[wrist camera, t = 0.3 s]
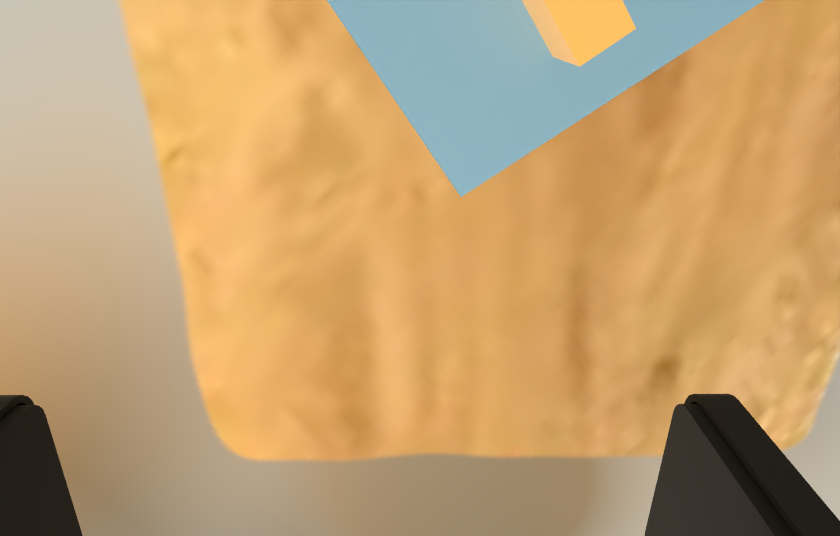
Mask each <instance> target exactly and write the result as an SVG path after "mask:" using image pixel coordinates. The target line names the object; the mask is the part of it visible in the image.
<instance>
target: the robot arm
mask: <svg viewBox="0 0 840 536" xmlns="http://www.w3.org/2000/svg"><path fill="white" fill-rule="evenodd" d="M0 536H82V533H81V529H80V526H79V523H78V519H77V516H76V513H75V510H74V506H73V503H72V500H71V497H70V493H69V490H68V487H67V484H66V480H65V477H64V474H63V471H62V467H61V464H60V461H59V458H58V455H57V451H56V448H55V444H54V441H53V438H52V435H51V432H50V428H49V425H48V422H47V418H46V415H45V413H44V411H43V409H42V408H41V407H40V406H37V405H34V403H33V401H32V400H31V399H30V398H29V397H27V396H24V395H0ZM645 536H840V521H839V520H838V519H837V517H836V516H835V515H834V514H833V512H832V511H831V510H830V509H829V508H828V507H827V506H826V504H825V503H824V502H823V501H822V499H821V498H820V497H819V496H818V495H817V494H816V492H815V491H814V490H813V489H812V487H811V486H810V485H809V484H808V483H807V481H806V480H805V479H804V478H803V477H802V475H801V474H800V473H799V472H798V471H797V469H796V468H795V467H794V466H793V465H792V464H791V462H790V461H789V460H788V459H787V458H786V456H785V455H784V454H783V453H782V452H781V450H780V449H779V448H778V447H777V446H776V444H775V443H774V442H773V441H772V440H771V438H770V437H769V436H768V435H767V434H766V432H765V431H764V430H763V429H762V428H761V426H760V425H759V424H758V423H757V422H756V421H755V419H754V418H753V417H752V416H751V415H750V413H749V412H748V411H747V410H746V409H745V407H744V406H743V405H742V404H741V403H740V401H739V400H738V399H737V398H736V397H734V396H733V395H730V394H692V395H689V396H688V398H687V399H686V401H685V403H684V404H679V405H677V406H676V407H675V409H674V412H673V416H672V420H671V424H670V429H669V433H668V437H667V441H666V446H665V450H664V454H663V458H662V463H661V467H660V471H659V476H658V480H657V484H656V488H655V492H654V497H653V501H652V505H651V509H650V514H649V518H648V522H647V527H646V531H645Z"/></svg>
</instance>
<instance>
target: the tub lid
mask: <svg viewBox="0 0 840 536" xmlns="http://www.w3.org/2000/svg"><path fill="white" fill-rule="evenodd" d="M327 1H328V2H329V4H330V5H331V7H332V8H333V10H334V11H335V13H336V14H337V16H338V17H339V19H340V20H341V22H342V23H343V24H344V26H345V27H346V29H347V30H348V32H349V33H350V35H351V36H352V38H353V39H354V41H355V42H356V44H357V45H358V47H359V48H360V49H361V51H362V52H363V54H364V55H365V57H366V58H367V60H368V61H369V63H370V64H371V66H372V67H373V69H374V70H375V71H376V73H377V74H378V76H379V77H380V79H381V80H382V82H383V83H384V85H385V86H386V88H387V89H388V91H389V92H390V94H391V95H392V96H393V98H394V99H395V101H396V102H397V104H398V105H399V107H400V108H401V110H402V111H403V113H404V114H405V116H406V117H407V119H408V120H409V121H410V123H411V124H412V126H413V127H414V129H415V130H416V132H417V133H418V135H419V136H420V138H421V139H422V141H423V142H424V143H425V145H426V146H427V148H428V149H429V151H430V152H431V154H432V155H433V157H434V158H435V160H436V161H437V163H438V164H439V166H440V167H441V168H442V170H443V171H444V173H445V174H446V176H447V177H448V179H449V180H450V182H451V183H452V185H453V186H454V188H455V189H456V191H457V192H458V193H459V195H460V196H461V197H462V196H463V195H465V194H466V193H468V192H469V191H471V190H473V189H474V188H476V187H477V186H479V185H480V184H482V183H483V182H485V181H486V180H488V179H490V178H491V177H493V176H494V175H496V174H497V173H499V172H500V171H502V170H503V169H505V168H506V167H508V166H510V165H511V164H513V163H514V162H516V161H517V160H519V159H520V158H522V157H523V156H525V155H526V154H528V153H530V152H531V151H533V150H534V149H536V148H537V147H539V146H540V145H542V144H543V143H545V142H547V141H548V140H550V139H551V138H553V137H554V136H556V135H557V134H559V133H560V132H562V131H563V130H565V129H567V128H568V127H570V126H571V125H573V124H574V123H576V122H577V121H579V120H580V119H582V118H584V117H585V116H587V115H588V114H590V113H591V112H593V111H594V110H596V109H597V108H599V107H600V106H602V105H604V104H605V103H607V102H608V101H610V100H611V99H613V98H614V97H616V96H617V95H619V94H620V93H622V92H624V91H625V90H627V89H628V88H630V87H631V86H633V85H634V84H636V83H637V82H639V81H641V80H642V79H644V78H645V77H647V76H648V75H650V74H651V73H653V72H654V71H656V70H657V69H659V68H661V67H662V66H664V65H665V64H667V63H668V62H670V61H671V60H673V59H674V58H676V57H677V56H679V55H681V54H682V53H684V52H685V51H687V50H688V49H690V48H691V47H693V46H694V45H696V44H698V43H699V42H701V41H702V40H704V39H705V38H707V37H708V36H710V35H711V34H713V33H714V32H716V31H718V30H719V29H721V28H722V27H724V26H725V25H727V24H728V23H730V22H731V21H733V20H734V19H736V18H738V17H739V16H741V15H742V14H744V13H745V12H747V11H748V10H750V9H751V8H753V7H755V6H756V5H758V4H759V3H761V2H762V1H764V0H327Z"/></svg>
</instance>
